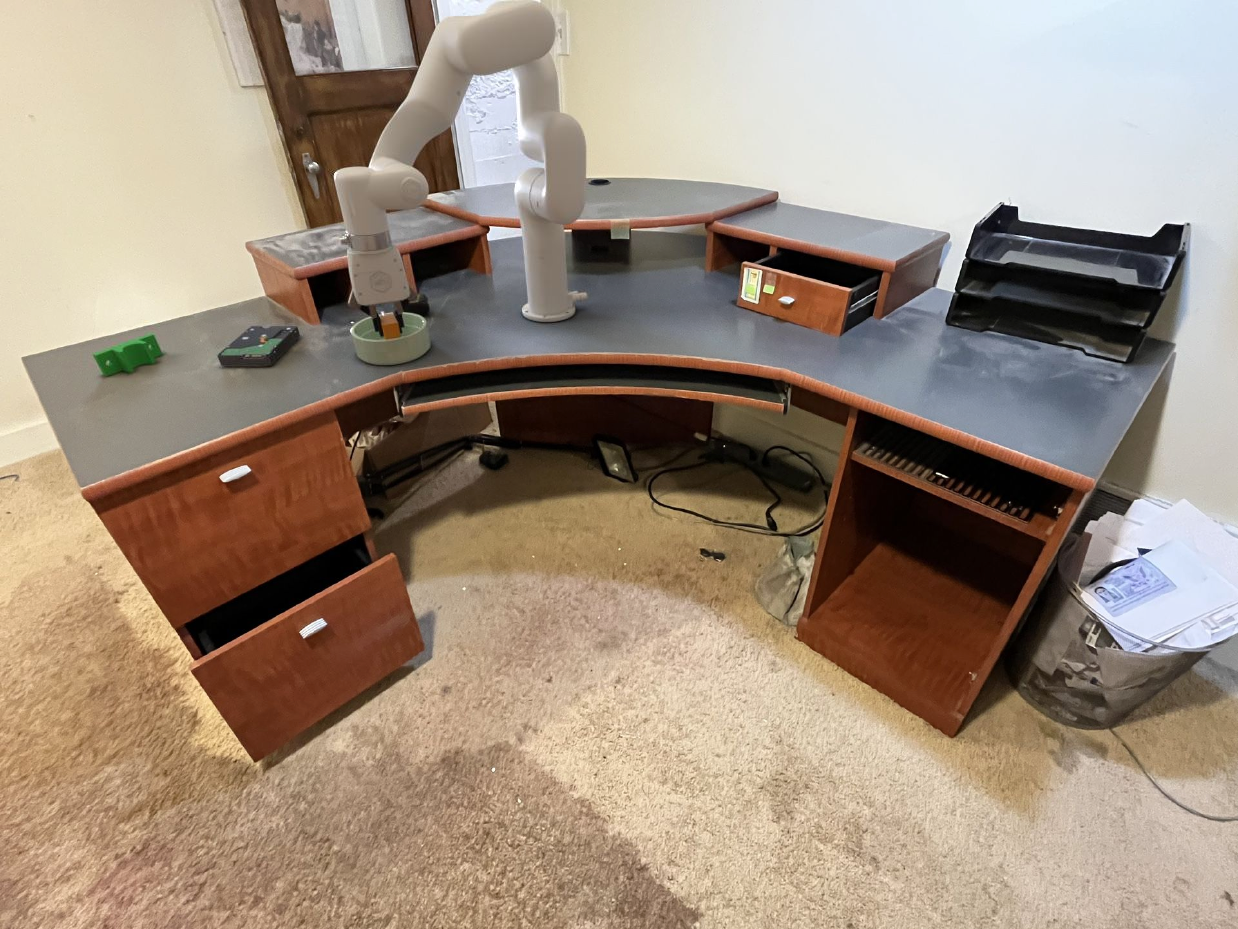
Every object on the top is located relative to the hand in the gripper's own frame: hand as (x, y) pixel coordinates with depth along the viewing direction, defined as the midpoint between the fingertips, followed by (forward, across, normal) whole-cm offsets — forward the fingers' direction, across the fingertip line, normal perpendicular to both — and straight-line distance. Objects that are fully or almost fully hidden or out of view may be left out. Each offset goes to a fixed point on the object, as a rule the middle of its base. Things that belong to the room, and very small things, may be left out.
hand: (390, 331), depth 126 cm
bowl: (+5, 0, +2) cm, 6 cm away
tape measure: (+5, +9, +22) cm, 24 cm away
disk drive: (+6, -25, +14) cm, 29 cm away
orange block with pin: (0, 0, +2) cm, 2 cm away
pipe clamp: (+6, -48, +18) cm, 51 cm away
